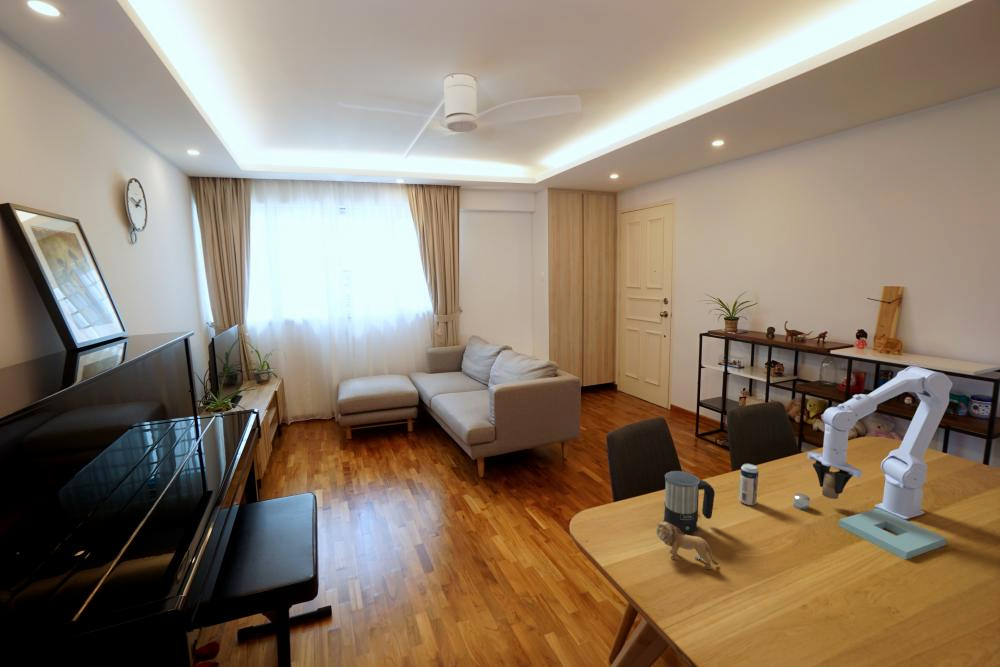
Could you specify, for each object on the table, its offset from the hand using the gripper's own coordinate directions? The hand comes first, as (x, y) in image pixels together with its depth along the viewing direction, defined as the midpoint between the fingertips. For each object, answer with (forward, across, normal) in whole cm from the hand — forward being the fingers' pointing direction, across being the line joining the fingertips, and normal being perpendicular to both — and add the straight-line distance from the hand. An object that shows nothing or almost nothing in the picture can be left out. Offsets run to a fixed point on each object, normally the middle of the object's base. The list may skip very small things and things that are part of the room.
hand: (830, 489), depth 136 cm
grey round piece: (+6, -3, -8) cm, 10 cm away
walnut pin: (+2, 0, 0) cm, 2 cm away
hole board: (+6, +16, 0) cm, 17 cm away
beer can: (+6, -11, -21) cm, 24 cm away
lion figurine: (+6, +4, -60) cm, 61 cm away
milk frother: (+6, -11, -48) cm, 50 cm away
